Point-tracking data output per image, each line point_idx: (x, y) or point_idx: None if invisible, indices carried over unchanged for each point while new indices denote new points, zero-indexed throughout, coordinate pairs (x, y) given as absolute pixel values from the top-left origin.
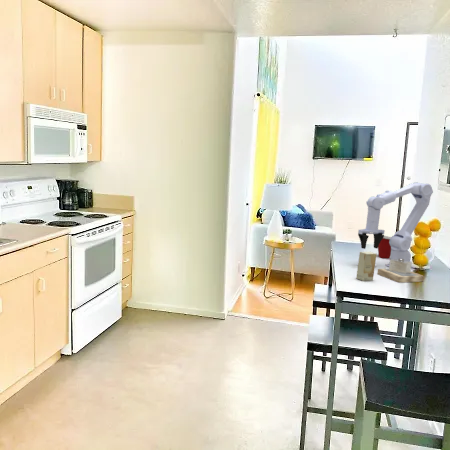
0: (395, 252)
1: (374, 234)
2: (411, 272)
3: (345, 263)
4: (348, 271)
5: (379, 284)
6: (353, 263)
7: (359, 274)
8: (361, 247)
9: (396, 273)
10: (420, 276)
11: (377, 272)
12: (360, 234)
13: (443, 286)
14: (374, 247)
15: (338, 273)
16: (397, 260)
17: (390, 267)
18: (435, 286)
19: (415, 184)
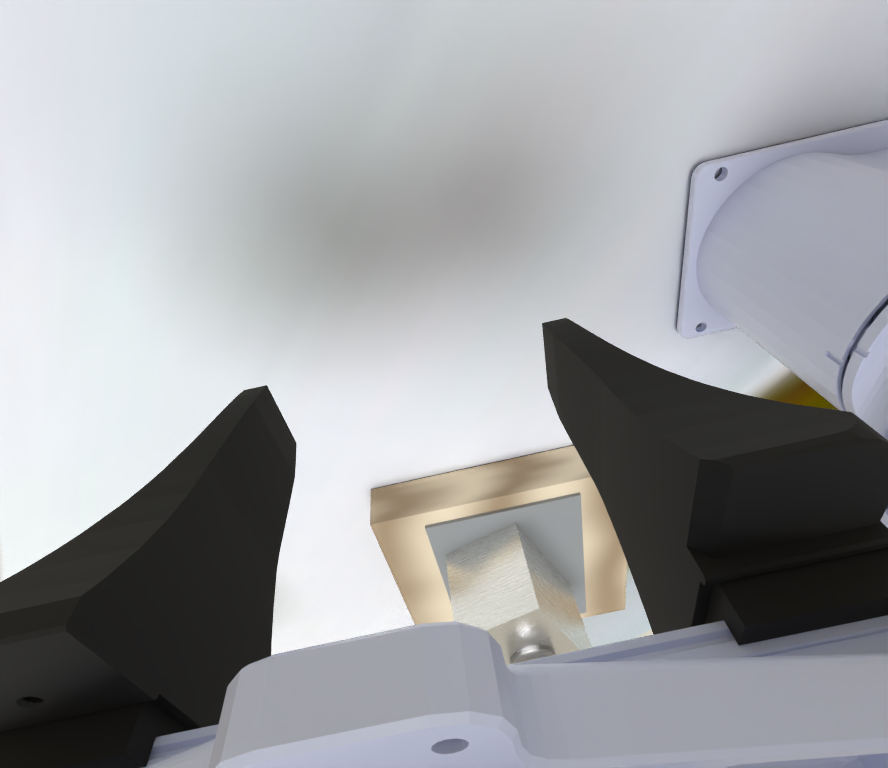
0: (820, 383)
1: (691, 503)
2: (606, 561)
3: (126, 90)
4: (113, 453)
5: (276, 651)
6: (266, 75)
7: None
8: (238, 400)
9: (451, 607)
10: (595, 612)
11: (371, 500)
12: (15, 729)
13: (649, 623)
14: (545, 346)
15: (6, 516)
16: (513, 648)
17: (453, 581)
18: (601, 629)
19: None
